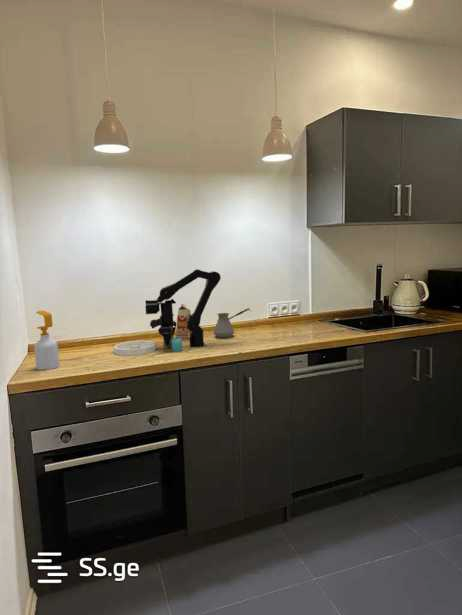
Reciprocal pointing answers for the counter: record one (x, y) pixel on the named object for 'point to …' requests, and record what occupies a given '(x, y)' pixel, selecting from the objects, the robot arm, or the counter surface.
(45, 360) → the soap bottle
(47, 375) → the counter surface
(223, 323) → the coffee pot
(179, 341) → the teal bead
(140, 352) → the dish
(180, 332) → the red figurine
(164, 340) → the walnut bead
